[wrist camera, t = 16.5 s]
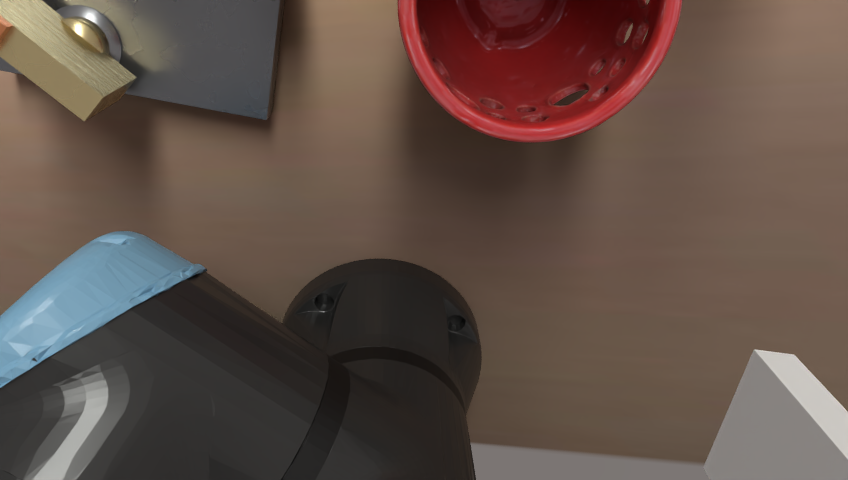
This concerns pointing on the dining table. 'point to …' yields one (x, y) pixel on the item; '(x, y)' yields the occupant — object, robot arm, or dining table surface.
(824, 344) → the dining table surface
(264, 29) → the levelling plate
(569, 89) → the plant pot
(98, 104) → the knob
